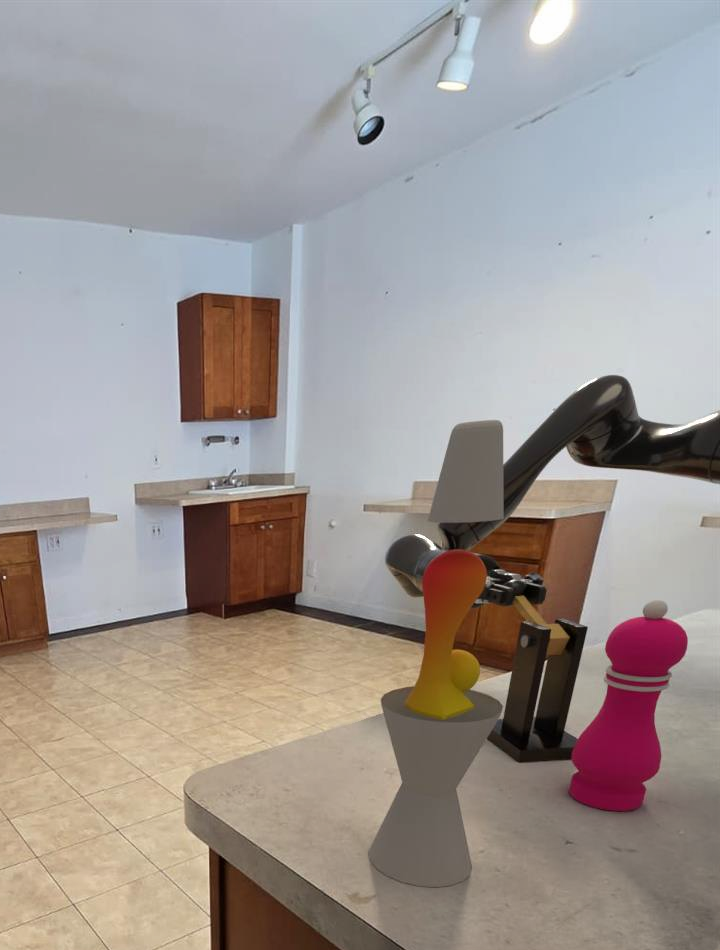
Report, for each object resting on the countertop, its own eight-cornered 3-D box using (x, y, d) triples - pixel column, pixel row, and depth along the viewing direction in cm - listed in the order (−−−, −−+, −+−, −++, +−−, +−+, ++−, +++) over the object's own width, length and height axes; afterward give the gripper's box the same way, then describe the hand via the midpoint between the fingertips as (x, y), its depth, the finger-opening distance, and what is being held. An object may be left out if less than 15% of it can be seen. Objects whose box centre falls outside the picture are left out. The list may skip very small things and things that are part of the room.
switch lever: (490, 598, 82) (499, 575, 80) (515, 596, 82) (525, 574, 80) (536, 659, 73) (547, 635, 71) (564, 657, 73) (576, 634, 71)
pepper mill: (658, 818, 61) (725, 608, 53) (571, 809, 64) (621, 607, 55) (635, 785, 67) (691, 592, 59) (556, 778, 70) (599, 592, 61)
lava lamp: (430, 901, 52) (503, 415, 37) (345, 854, 59) (378, 429, 44) (496, 863, 56) (585, 412, 41) (408, 823, 63) (458, 426, 49)
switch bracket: (476, 731, 83) (495, 617, 77) (538, 727, 83) (562, 612, 77) (518, 762, 74) (543, 636, 68) (587, 758, 74) (619, 631, 68)
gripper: (414, 554, 92) (472, 568, 76) (512, 548, 91) (591, 561, 76) (408, 607, 95) (463, 631, 79) (503, 601, 94) (577, 624, 79)
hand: (525, 596), depth 77 cm, fingers closed on switch lever, 3 cm apart
